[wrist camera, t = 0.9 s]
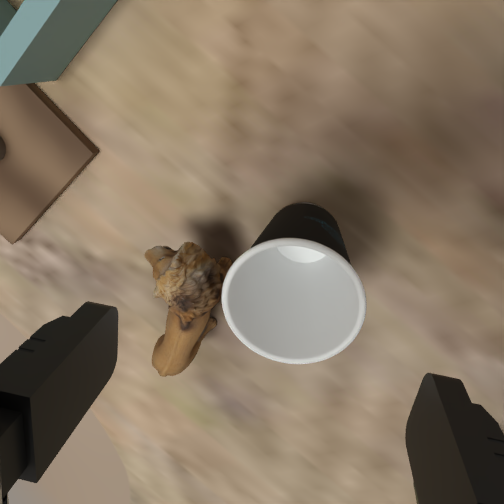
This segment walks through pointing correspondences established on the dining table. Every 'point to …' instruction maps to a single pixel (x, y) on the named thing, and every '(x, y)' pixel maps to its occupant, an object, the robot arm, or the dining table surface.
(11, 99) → the shaft block
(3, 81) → the collar
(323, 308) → the dixie cup
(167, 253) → the lion figurine
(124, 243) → the dining table surface
